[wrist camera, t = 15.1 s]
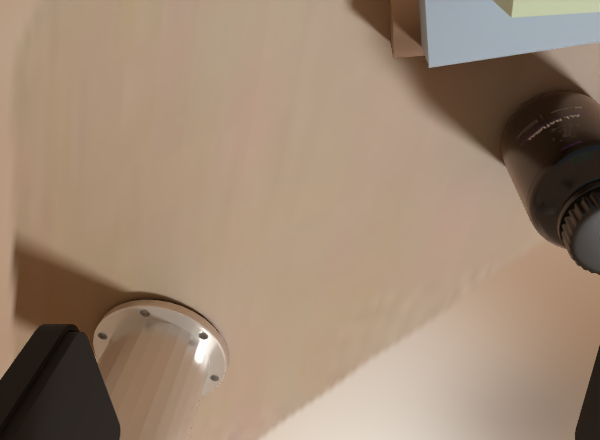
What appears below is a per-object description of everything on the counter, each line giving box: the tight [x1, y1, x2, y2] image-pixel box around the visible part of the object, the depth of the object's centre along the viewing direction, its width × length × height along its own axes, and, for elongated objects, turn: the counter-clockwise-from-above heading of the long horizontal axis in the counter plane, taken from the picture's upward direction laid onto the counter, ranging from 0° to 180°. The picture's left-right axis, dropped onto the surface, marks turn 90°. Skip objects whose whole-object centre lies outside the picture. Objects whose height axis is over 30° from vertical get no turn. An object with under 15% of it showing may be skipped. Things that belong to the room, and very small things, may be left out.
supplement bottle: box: [501, 91, 600, 275], centre depth 31 cm, size 7×7×12 cm
